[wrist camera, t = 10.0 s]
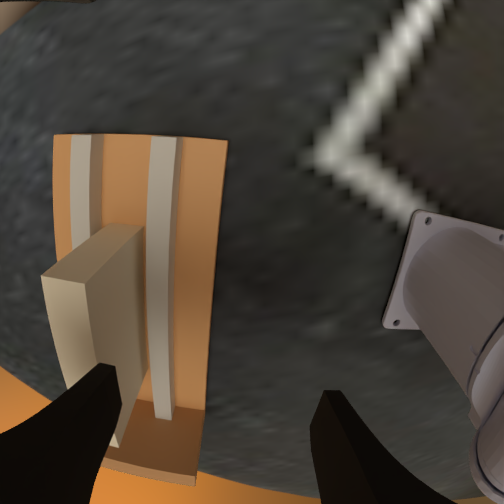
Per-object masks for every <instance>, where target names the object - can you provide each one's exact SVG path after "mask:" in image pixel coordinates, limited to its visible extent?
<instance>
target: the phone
mask: <svg viewBox="0 0 504 504" xmlns="http://www.w3.org/2000/svg"><path fill="white" fill-rule="evenodd" d="M17 1H32V2H42V1H62V2H75V3H91V2H94V1H96V0H0V2H17Z"/></svg>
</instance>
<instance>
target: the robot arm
mask: <svg viewBox="0 0 504 504" xmlns="http://www.w3.org/2000/svg"><path fill="white" fill-rule="evenodd" d="M427 217H429V221H428V222H427V223H425V219H426V218H427ZM500 235H501V236H500ZM499 237H500V238H499ZM395 320H397V322H396V323H393V322H394V321H395ZM382 324H383V326H384V327H385V328H387V329H415V330H421V331H422V332H423V334H424V335H425V336H426V338H427V339H428V340H429V342H430V343H431V345H432V346H433V347H434V349H435V350H436V352H437V353H438V354H439V356H440V357H441V359H442V360H443V362H444V363H445V364H446V366H447V367H448V369H449V370H450V372H451V373H452V375H453V376H454V378H455V379H456V381H457V382H458V384H459V385H460V387H461V388H462V390H463V391H464V393H465V394H466V396H467V397H468V399H469V400H470V402H471V410H470V412H469V414H468V417H469V418H470V420H471V422H472V423H473V425H474V427H475V428H476V430H477V431H476V433H475V435H474V436H473V439H472V442H471V444H470V449H469V465H470V470H471V473H472V476H473V479H474V481H475V482H476V484H477V486H478V487H479V488H480V490H481V491H482V492H483V493H484V494H485V495H486V496H487V497H488V498H489V499H491V500H493V501H494V502H496V503H498V504H504V230H501V229H497V228H494V227H490V226H486V225H482V224H478V223H474V222H470V221H466V220H462V219H458V218H454V217H449V216H445V215H441V214H436V213H432V212H427V211H423V210H418V211H416V212H415V213H414V214H413V217H412V221H411V225H410V229H409V233H408V237H407V241H406V244H405V248H404V252H403V255H402V259H401V262H400V266H399V269H398V272H397V276H396V279H395V282H394V285H393V289H392V292H391V295H390V298H389V301H388V304H387V307H386V310H385V313H384V315H383V318H382ZM121 408H122V400H121V395H120V389H119V384H118V379H117V373H116V367H115V366H113V365H109V364H105V363H98V364H97V365H96V366H95V367H93V368H92V369H91V370H90V371H89V372H88V373H87V374H85V375H84V376H83V377H82V378H81V379H80V380H78V381H77V382H76V383H75V384H74V385H73V386H71V387H70V388H69V389H68V390H67V391H65V392H64V393H63V394H62V395H61V396H59V397H58V398H57V399H56V400H54V401H53V402H52V403H50V404H49V405H48V406H46V407H45V408H43V409H42V410H41V411H39V412H38V413H37V414H35V415H33V416H32V417H30V418H29V419H27V420H26V421H24V422H22V423H21V424H19V425H17V426H15V427H13V428H11V429H9V430H8V431H5V432H3V433H1V434H0V504H89V502H90V498H91V494H92V490H93V486H94V482H95V479H96V476H97V473H98V471H99V468H100V466H101V463H102V461H103V459H104V456H105V454H106V451H107V449H108V446H109V444H110V442H111V439H112V437H113V434H114V432H115V429H116V426H117V423H118V419H119V416H120V412H121ZM310 441H311V452H312V457H313V462H314V468H315V473H316V478H317V483H318V488H319V493H320V498H321V504H457V503H455V502H453V501H451V500H449V499H448V498H446V497H444V496H442V495H441V494H439V493H438V492H436V491H434V490H433V489H432V488H430V487H429V486H427V485H426V484H425V483H423V482H422V481H420V480H419V479H418V478H416V477H415V476H414V475H413V474H412V473H410V472H409V471H408V470H407V469H406V468H405V467H404V466H403V465H401V464H400V463H399V462H398V461H397V460H396V459H395V458H394V457H393V456H392V455H391V454H390V453H389V452H388V451H387V449H386V448H385V447H384V446H383V445H382V444H381V443H380V442H379V440H378V439H377V438H376V437H375V436H374V434H373V433H372V432H371V431H370V429H369V428H368V427H367V426H366V424H365V423H364V422H363V421H362V419H361V418H360V417H359V415H358V414H357V412H356V411H355V410H354V408H353V407H352V406H351V404H350V403H349V401H348V400H347V399H346V397H345V396H344V395H343V393H342V392H341V391H340V390H324V391H323V394H322V397H321V399H320V402H319V404H318V407H317V409H316V412H315V414H314V417H313V419H312V422H311V424H310Z"/></svg>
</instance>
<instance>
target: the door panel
mask: <svg viewBox="0 0 504 504" xmlns="http://www.w3.org/2000/svg"><path fill="white" fill-rule="evenodd" d="M143 228H144V226H138V225H128V224H119V223H109V224H108V225H106V226H105V227H104V228H102V229H101V230H99V231H98V232H97V233H95V234H94V235H93V236H91V237H90V238H88V239H87V240H86V241H84V242H83V243H82V244H80V245H79V246H78V247H76V248H75V249H74V250H73V251H71V252H70V253H69V254H67V255H66V256H65V257H64V258H62V259H61V260H60V261H58V262H57V263H56V264H55V265H53V266H52V267H51V268H50V269H48V270H47V271H46V272H45V273H44V274H42V275H41V279H42V286H43V291H44V297H45V302H46V308H47V313H48V317H49V322H50V327H51V331H52V335H53V339H54V343H55V347H56V351H57V355H58V359H59V362H60V366H61V369H62V373H63V376H64V379H65V382H66V385H67V389H69V388H70V387H71V386H73V385H74V384H75V383H76V382H77V381H78V380H80V379H81V378H82V377H83V376H84V375H85V374H87V373H88V372H89V371H90V370H91V369H92V368H93V367H95V366H96V365H97V364H98V363H105V364H109V365H113V366H115V367H116V373H117V379H118V384H119V389H120V395H121V400H122V408H121V412H120V416H119V419H118V423H117V426H116V429H115V432H114V434H113V437H112V439H111V442H110V444H109V445H110V446H114V447H118V448H119V446H120V443H121V440H122V438H123V435H124V432H125V429H126V426H127V423H128V421H129V418H130V415H131V412H132V410H133V407H134V404H135V401H136V399H137V396H138V393H139V391H140V388H141V385H142V383H143V380H144V377H145V375H146V372H147V370H148V361H147V348H146V333H145V314H144V283H143Z"/></svg>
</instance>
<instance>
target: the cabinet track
mask: <svg viewBox="0 0 504 504" xmlns="http://www.w3.org/2000/svg"><path fill="white" fill-rule="evenodd" d="M228 144H229V141H228V140H218V139H207V138H195V137H182V136H166V135H145V134H59V135H54V146H53V212H54V230H55V243H56V254H57V262H58V261H60V260H61V259H62V258H64V257H65V256H66V255H67V254H69V253H70V252H71V251H73V250H74V249H75V248H76V247H78V246H79V245H80V244H82V243H83V242H84V241H86V240H87V239H88V238H90V237H91V236H93V235H94V234H95V233H97V232H98V231H99V230H101V229H102V228H104V227H105V226H106V225H108V224H109V223H119V224H128V225H138V226H144V228H143V283H144V314H145V333H146V348H147V361H148V370H147V372H146V375H145V377H144V380H143V383H142V385H141V388H140V391H139V393H138V396H137V399H136V401H135V404H134V407H133V410H132V412H131V415H130V418H129V421H128V423H127V426H126V429H125V432H124V435H123V438H122V440H121V443H120V446H119V448H118V447H114V446H110V445H109V446H108V449H107V451H106V454H105V456H104V459H103V461H102V463H101V466H102V467H106V468H109V469H113V470H116V471H120V472H124V473H128V474H132V475H136V476H140V477H145V478H149V479H155V480H160V481H165V482H170V483H176V484H182V485H189V486H195V484H196V476H197V469H198V461H199V454H200V446H201V439H202V432H203V425H204V418H205V406H206V388H207V371H208V356H209V341H210V328H211V315H212V302H213V290H214V278H215V267H216V256H217V245H218V235H219V225H220V215H221V205H222V196H223V187H224V178H225V169H226V160H227V152H228Z"/></svg>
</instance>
